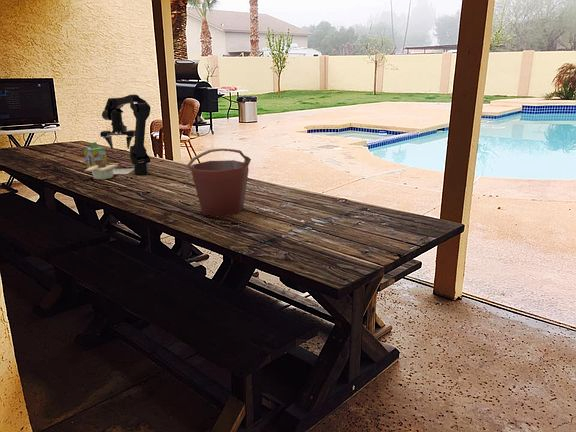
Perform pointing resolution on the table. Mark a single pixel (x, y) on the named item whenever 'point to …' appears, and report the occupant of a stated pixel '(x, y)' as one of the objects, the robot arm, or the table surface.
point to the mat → (122, 171)
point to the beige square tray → (101, 166)
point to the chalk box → (94, 155)
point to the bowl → (102, 174)
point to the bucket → (220, 184)
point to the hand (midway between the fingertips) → (120, 148)
